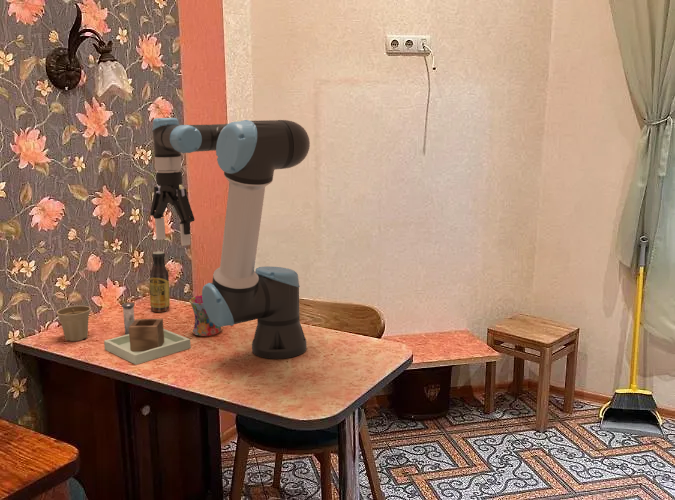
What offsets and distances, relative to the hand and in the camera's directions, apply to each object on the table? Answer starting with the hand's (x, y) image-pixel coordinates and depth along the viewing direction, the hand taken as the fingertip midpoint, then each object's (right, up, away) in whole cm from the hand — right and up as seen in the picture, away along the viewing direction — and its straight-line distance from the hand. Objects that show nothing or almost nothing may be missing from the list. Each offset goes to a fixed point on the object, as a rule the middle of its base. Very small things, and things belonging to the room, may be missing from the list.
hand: (173, 242), depth 199 cm
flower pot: (-28, -29, -3) cm, 40 cm away
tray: (-4, -30, -13) cm, 33 cm away
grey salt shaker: (-13, -27, 0) cm, 30 cm away
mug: (+11, -27, +1) cm, 29 cm away
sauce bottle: (-10, -23, +23) cm, 34 cm away
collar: (-4, -29, -13) cm, 32 cm away
